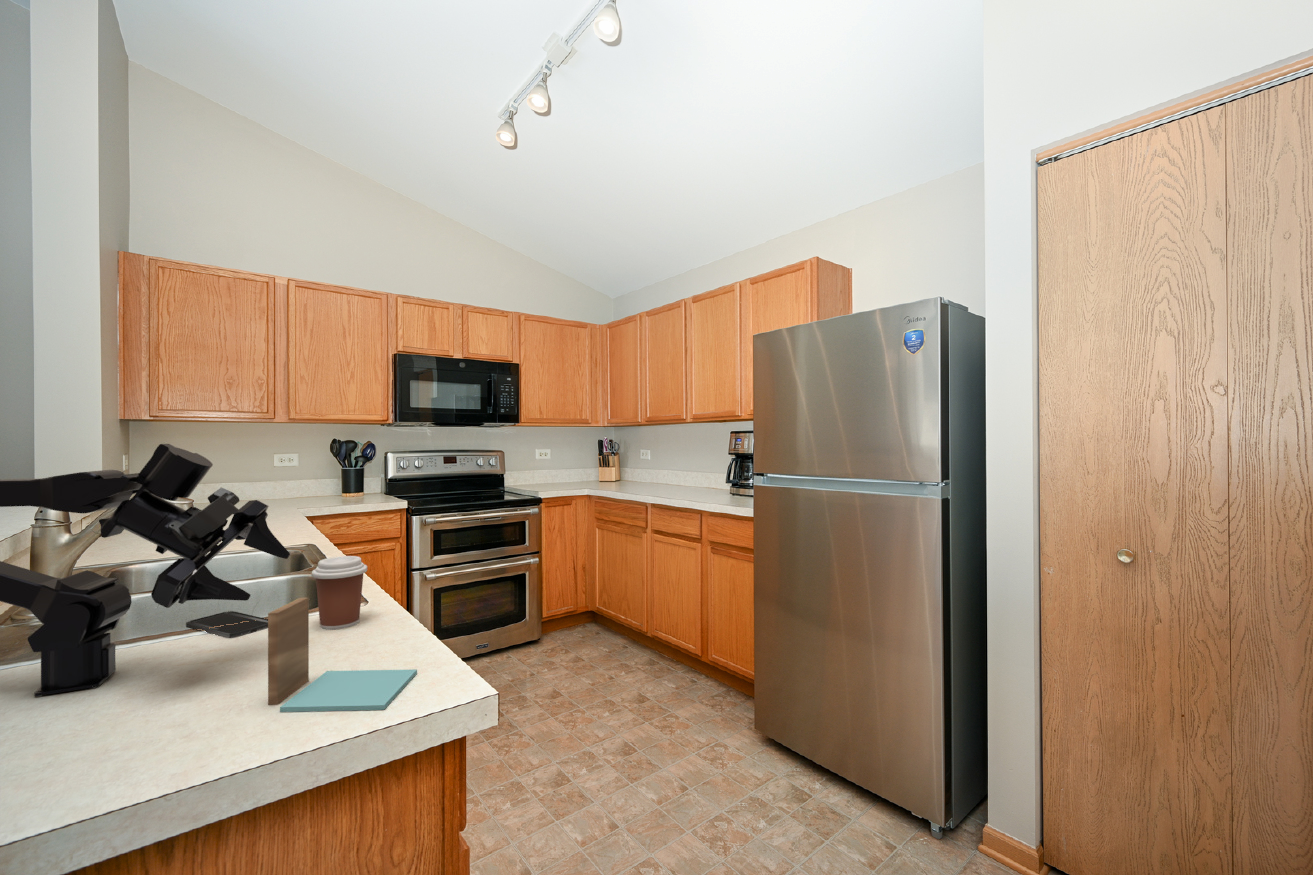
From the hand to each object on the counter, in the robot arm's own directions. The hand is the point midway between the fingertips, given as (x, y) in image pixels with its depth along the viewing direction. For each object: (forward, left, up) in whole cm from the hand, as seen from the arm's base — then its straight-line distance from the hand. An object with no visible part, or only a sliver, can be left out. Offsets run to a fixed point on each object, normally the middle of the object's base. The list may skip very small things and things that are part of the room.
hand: (269, 576), depth 86 cm
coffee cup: (+9, +16, -14) cm, 23 cm away
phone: (-9, +24, -14) cm, 30 cm away
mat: (+12, -16, -14) cm, 24 cm away
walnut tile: (+4, -13, -14) cm, 19 cm away
